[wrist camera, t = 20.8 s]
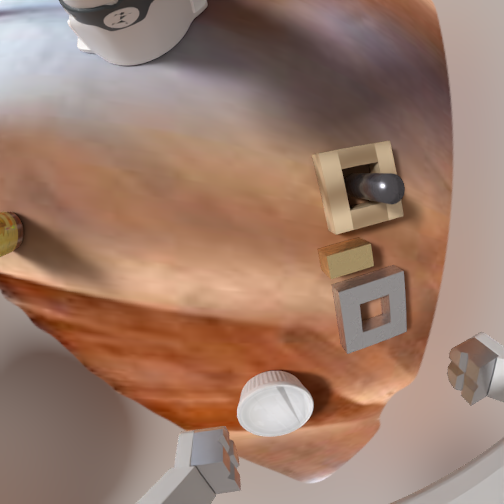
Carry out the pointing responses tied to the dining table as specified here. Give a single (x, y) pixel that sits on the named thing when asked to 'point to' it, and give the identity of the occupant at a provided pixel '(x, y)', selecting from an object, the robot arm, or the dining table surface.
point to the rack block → (335, 191)
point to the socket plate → (361, 291)
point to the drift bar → (345, 257)
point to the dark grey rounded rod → (375, 187)
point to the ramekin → (274, 404)
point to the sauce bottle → (10, 232)
